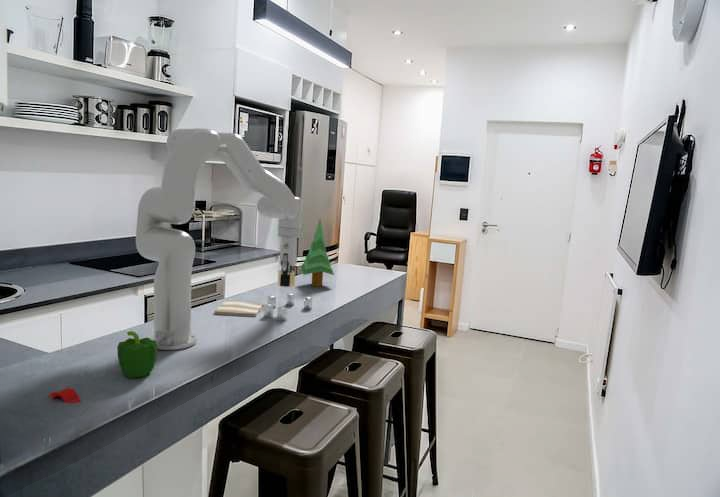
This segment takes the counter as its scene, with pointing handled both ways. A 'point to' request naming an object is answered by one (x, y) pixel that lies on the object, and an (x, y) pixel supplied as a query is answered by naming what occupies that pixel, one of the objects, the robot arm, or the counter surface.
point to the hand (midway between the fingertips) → (286, 283)
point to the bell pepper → (137, 355)
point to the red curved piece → (66, 395)
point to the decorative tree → (317, 259)
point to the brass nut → (292, 278)
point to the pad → (239, 308)
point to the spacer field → (283, 310)
